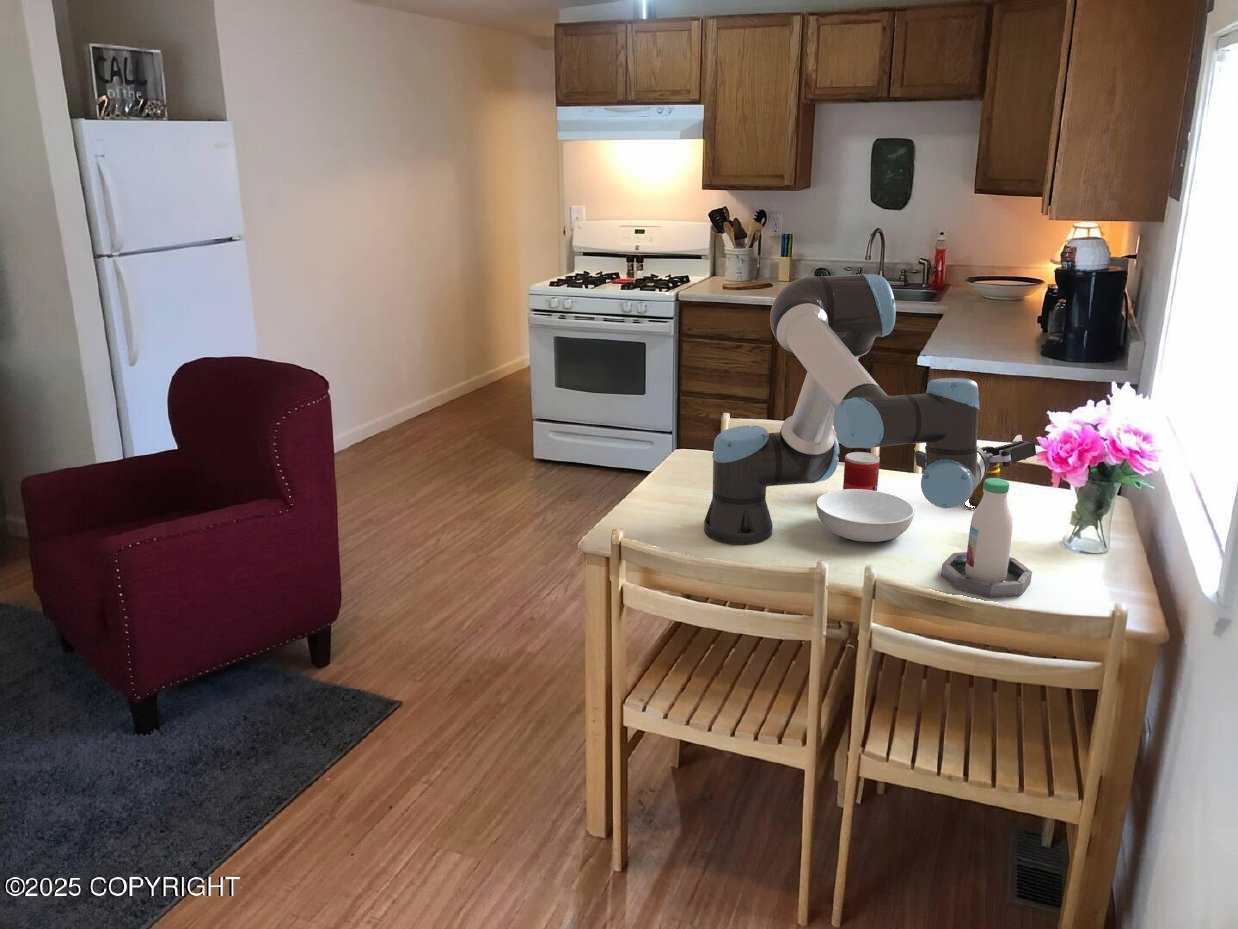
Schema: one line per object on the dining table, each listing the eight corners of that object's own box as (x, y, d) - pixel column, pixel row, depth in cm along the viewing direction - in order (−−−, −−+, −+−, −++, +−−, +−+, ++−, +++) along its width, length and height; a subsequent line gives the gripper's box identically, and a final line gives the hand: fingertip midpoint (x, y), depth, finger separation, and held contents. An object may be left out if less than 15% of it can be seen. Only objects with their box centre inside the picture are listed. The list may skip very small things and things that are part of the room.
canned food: (879, 505, 227) (883, 461, 224) (845, 505, 227) (848, 461, 224) (872, 494, 235) (875, 451, 231) (839, 494, 235) (842, 451, 231)
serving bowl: (892, 561, 198) (895, 530, 196) (799, 539, 209) (800, 509, 207) (924, 528, 214) (927, 500, 212) (836, 509, 225) (838, 482, 223)
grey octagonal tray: (933, 583, 188) (934, 571, 187) (958, 556, 199) (960, 545, 198) (1014, 604, 179) (1016, 592, 178) (1036, 575, 190) (1038, 563, 190)
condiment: (998, 501, 229) (1004, 454, 225) (996, 513, 222) (1002, 464, 218) (966, 497, 232) (971, 450, 228) (963, 509, 224) (968, 461, 221)
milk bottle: (1012, 575, 189) (1024, 480, 183) (997, 588, 184) (1009, 491, 177) (973, 565, 194) (984, 471, 187) (958, 577, 188) (968, 482, 182)
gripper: (888, 495, 164) (913, 471, 182) (1045, 484, 152) (1056, 460, 170) (882, 452, 163) (908, 432, 182) (1040, 438, 151) (1052, 418, 169)
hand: (980, 445), depth 176 cm, fingers open, 13 cm apart
